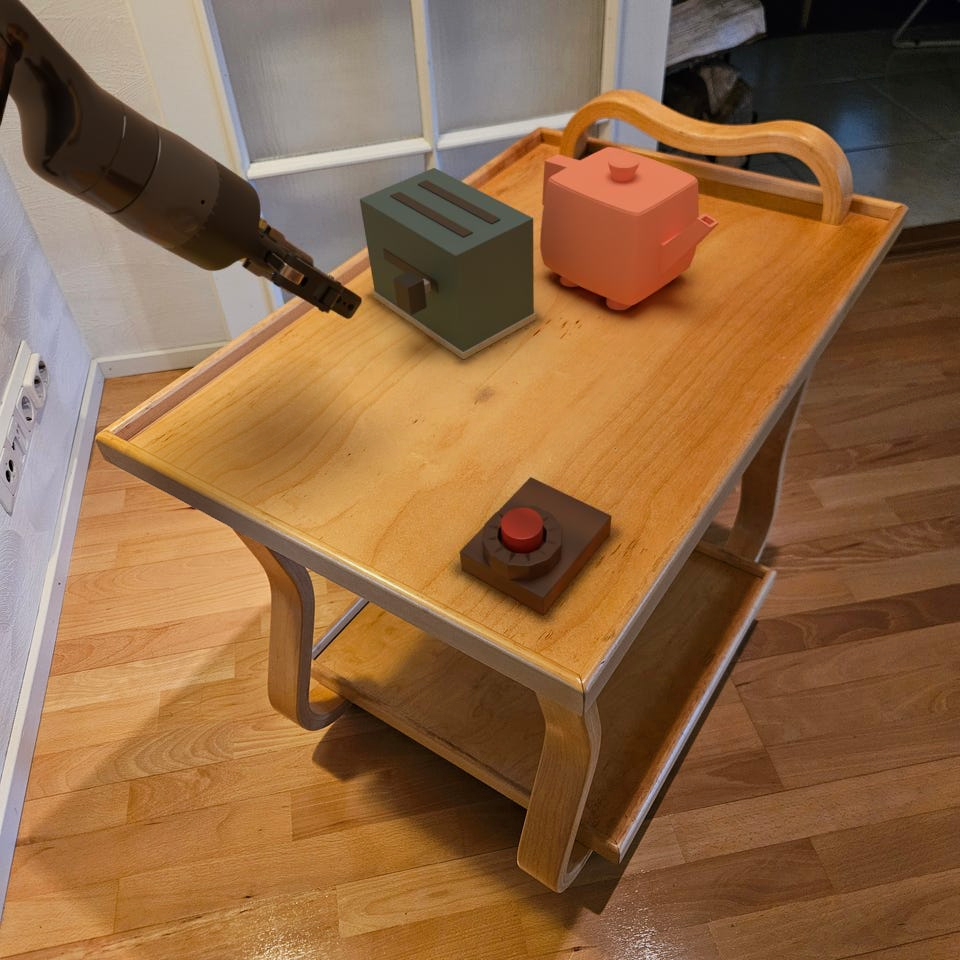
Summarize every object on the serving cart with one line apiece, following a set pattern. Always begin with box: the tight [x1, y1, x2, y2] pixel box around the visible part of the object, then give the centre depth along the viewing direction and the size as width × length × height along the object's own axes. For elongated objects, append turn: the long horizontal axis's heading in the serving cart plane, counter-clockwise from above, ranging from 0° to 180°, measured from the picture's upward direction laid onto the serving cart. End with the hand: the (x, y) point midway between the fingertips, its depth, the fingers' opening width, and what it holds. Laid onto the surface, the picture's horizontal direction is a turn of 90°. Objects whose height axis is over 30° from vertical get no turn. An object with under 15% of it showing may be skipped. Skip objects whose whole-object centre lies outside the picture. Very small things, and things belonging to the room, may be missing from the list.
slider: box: [394, 271, 431, 315], centre depth 83 cm, size 3×2×3 cm
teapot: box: [539, 146, 720, 311], centre depth 90 cm, size 22×13×14 cm, turn 44°
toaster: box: [359, 167, 537, 360], centre depth 88 cm, size 10×16×12 cm, turn 40°
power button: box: [501, 508, 543, 553], centre depth 63 cm, size 3×3×2 cm
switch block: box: [459, 476, 613, 616], centre depth 66 cm, size 10×8×4 cm
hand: (327, 287), depth 74 cm, fingers open, 8 cm apart
